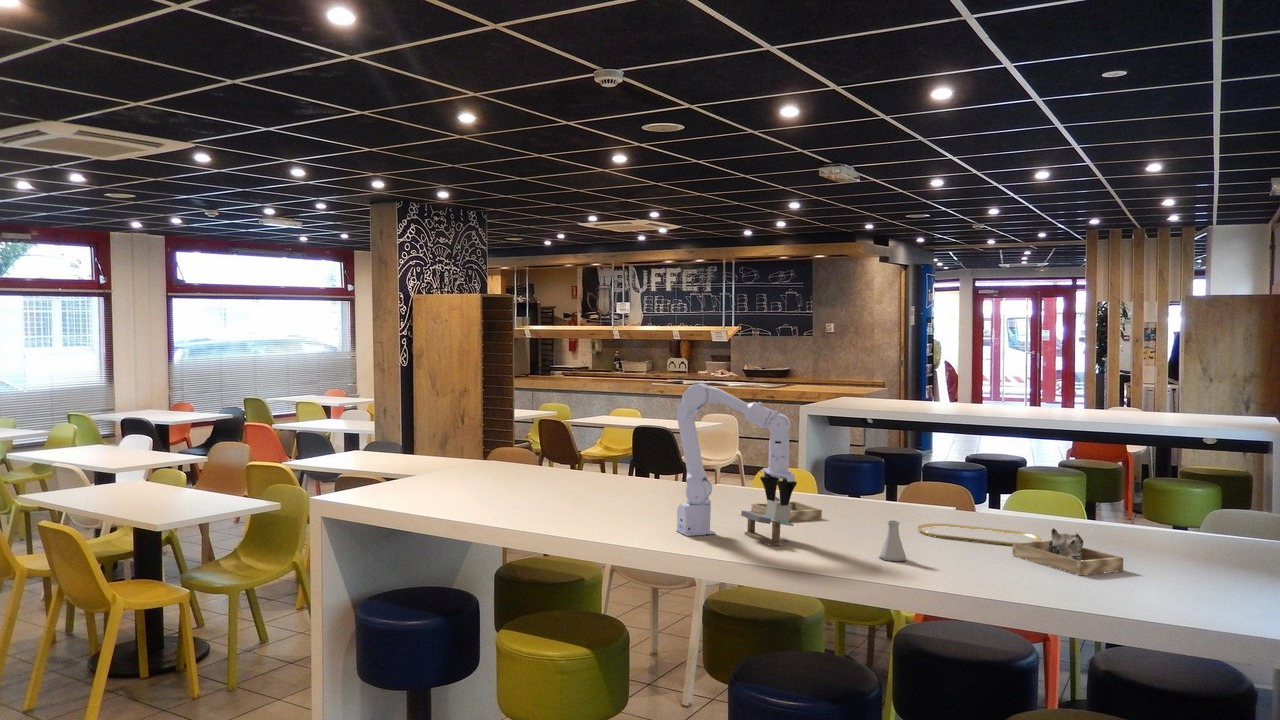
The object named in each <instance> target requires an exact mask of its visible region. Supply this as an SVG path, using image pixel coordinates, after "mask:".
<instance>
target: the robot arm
mask: <svg viewBox="0 0 1280 720" xmlns="http://www.w3.org/2000/svg"><path fill="white" fill-rule="evenodd" d="M716 403H717V404H721V405H723V406H726V407H728V408H730V409H733V410H735V411H738V412H740V413H742V414H743V415H744V417H745V420H747V421H748V422H751V423H753V424H755V425H757V426H759V427H761V428H763V429H765V430H767V429H768V430H769V433H770V434H769V440H768V441H769V442H768V444H769V445H768V467H763V468H762V476H760V477H759V479H760V481H761V482H762V486H763V488H764V493H765V496H766V501H767V502H768V500H773V501H774V500H775V497H776V495H777V494H776V492H777V487H778V490H779V499H780V503H781V505H782V506H786V505H788V504H789V502H791V501H790V499H791V496H792V494H793V492H794V489H795V487H796V486H797V484H798V483H797V481H795V479H796V478H795V477H796V475H795V474H793V473H792V470H789V462H790V440H789V439H790V433H789V432H790V431H789V430H790V428H791V420H790V418H789V417H788V416H787V415H785V414H784V413H781V412H780V413H778V410H777V409H774V410H772V409H770V408H768V407H766V406H764V405H763V404H764V403H763V402H761V401H758V402H756V401H753V402H750V403H747V402H746V401H743V400H742V399H740V398H738V397H736V396H734V395H733V394H730V393H728V392H726V391H724V390H723V389H720V388H718V387H715V386H712V385H708V384H706V383H704V382H700V383H697V384H695V383H693V384H691V385H690V386H688V387H687V389H686V390H685V391H684V392H683V393H682V397H681V401H680V402H679V405H678V408H677V411H676V419H677V424H678V429H679V430H678V432H679V435H680V440H681V445H682V451H683V452H682V453H683V457H684V461H685V467H686V479H685V480H686V489H685V496H686V498H687V499H686V501H685V503H680V504H678V507H677V513H676V514H677V515H676V518H677V519H676V521H677V522H676V529H675V531H676V532H678V533H680V534H682V535H685V536H686V537H688V536H689V537H693V536H704V535H706V534H708V535H716V531H713V530H711V511H712V510H711V508H712V504H711V503H712V501H711V499H710V498H709V497H710V495H711V494H712V492H713V486H712V483H711V482H710V481H709V479H708V475H707V473H706V470H705V468H704V463H703V459H702V453H701V448H700V443H699V438H698V437H699V436H698V431H697V427H696V421H695V416H696V414H697V413H698V412H699V410H700V409H701V408H702V407H703V406H705V405H706V404H716ZM706 536H707V535H706Z"/></svg>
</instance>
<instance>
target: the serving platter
mask: <svg viewBox="0 0 1280 720" xmlns="http://www.w3.org/2000/svg"><path fill="white" fill-rule="evenodd" d="M932 526H948V527H949V526H950V527H960V528H969V529H984V530H992V531H997V532H998V531H999V532H1004V533H1015V534H1021V535H1025V536H1028V537H1031V538H1034V539H1035V540H1037V541H1043V539H1042V537H1040V536H1039V535H1036V534H1032V533H1028V532H1024V531H1019V530H1011V529H1000V528H993V527H991V528H990V527H982V526H981V527H980V526H979V527H978V526H971V525H963V524H954V523H953V524H950V523H924V524H923V523H922V524H919V525H917V530H918V531H919V532H920V533H921V534H923V533H924V534H923V535H925V534H927V535H926V536H928V535H931V536H930V537H932V536H936V537H935V538H938V537H942V538H941V539H945V538H950V539H949V540H954V539H959V540H958V541H963V540H968V541H967V542H972V541H979V542H978V543H981V542H988V543H987V544H991V543H996V544H995V545H1000V544H1005V545H1004V546H1009V545H1013V543H1019V542H1017V541H1015V542H1014V541H1003V540H994V539H987V538H986V539H984V538H975V537H965V536H958V535H957V536H956V535H947V534H939V533H933V532H930V531H925V530H923V531H922V530H921V529H922V528H925V527H932Z"/></svg>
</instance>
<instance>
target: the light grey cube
mask: <svg viewBox="0 0 1280 720" xmlns="http://www.w3.org/2000/svg"><path fill="white" fill-rule="evenodd" d="M766 503H767V507H766V513H765V517H768V518H771V519H772V520H778V521H783V522H788V523H790V521H789V516H790V511H791V506H792V505H790V504H788V505H786V506H782V505H781V503H780V502H779V501H773V500H768V501H767V502H766Z"/></svg>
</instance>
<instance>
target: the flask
mask: <svg viewBox="0 0 1280 720" xmlns="http://www.w3.org/2000/svg"><path fill="white" fill-rule="evenodd" d="M900 524H901V523H900V521H899V520H891V519H890V520H887V525H888V527H887V528H888V529H887V534H886V538H885V540H884V543H883V545H882V548H881V551H880V553H879V557H878V558H880V559H882V560H883V561H889V562H890V561H892V562H903V561H904V562H905V561H907V556H906V553H905V550H904V547H903V544H902V541H901V537H900V530H899V525H900Z"/></svg>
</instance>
